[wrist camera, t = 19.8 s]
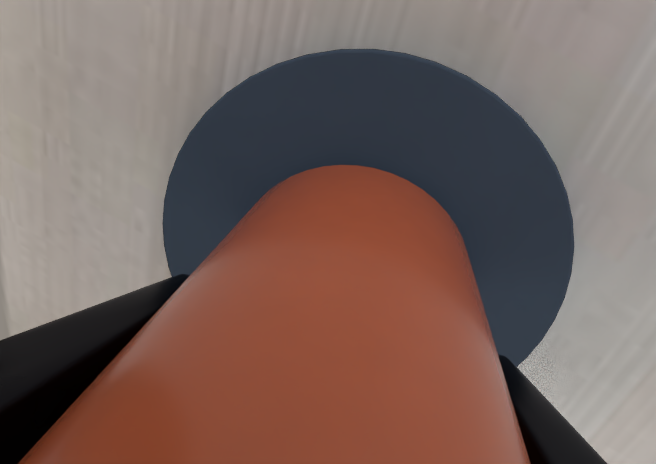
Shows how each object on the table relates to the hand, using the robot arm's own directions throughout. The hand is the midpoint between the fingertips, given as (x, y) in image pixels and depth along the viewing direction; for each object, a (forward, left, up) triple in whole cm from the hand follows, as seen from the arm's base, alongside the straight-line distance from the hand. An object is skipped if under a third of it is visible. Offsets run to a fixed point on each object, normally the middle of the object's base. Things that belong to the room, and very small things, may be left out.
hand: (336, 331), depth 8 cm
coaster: (0, 0, -3) cm, 3 cm away
